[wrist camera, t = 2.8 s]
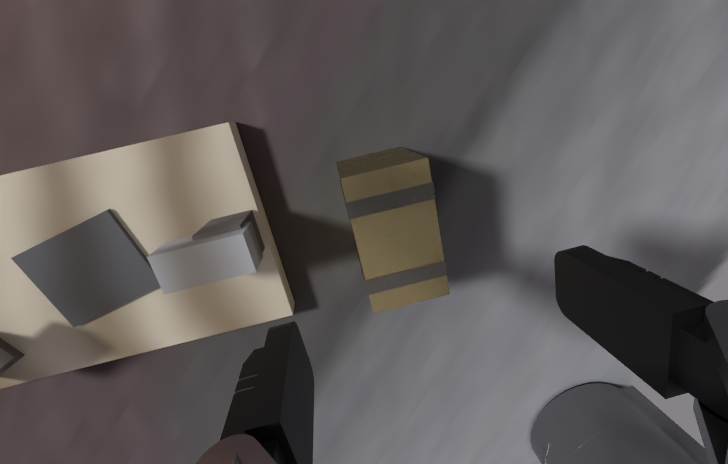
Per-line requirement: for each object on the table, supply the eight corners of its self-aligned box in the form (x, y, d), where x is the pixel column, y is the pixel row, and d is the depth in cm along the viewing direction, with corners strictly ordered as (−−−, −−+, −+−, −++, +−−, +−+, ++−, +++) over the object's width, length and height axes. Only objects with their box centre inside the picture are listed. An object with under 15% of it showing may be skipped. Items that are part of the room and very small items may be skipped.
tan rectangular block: (335, 162, 21) (339, 179, 15) (401, 146, 21) (429, 157, 15) (361, 265, 23) (372, 314, 18) (420, 250, 24) (450, 294, 18)
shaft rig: (235, 122, 20) (203, 123, 15) (294, 303, 24) (286, 355, 19) (-123, 205, 19) (-288, 238, 14) (-1, 377, 23) (-96, 452, 18)
